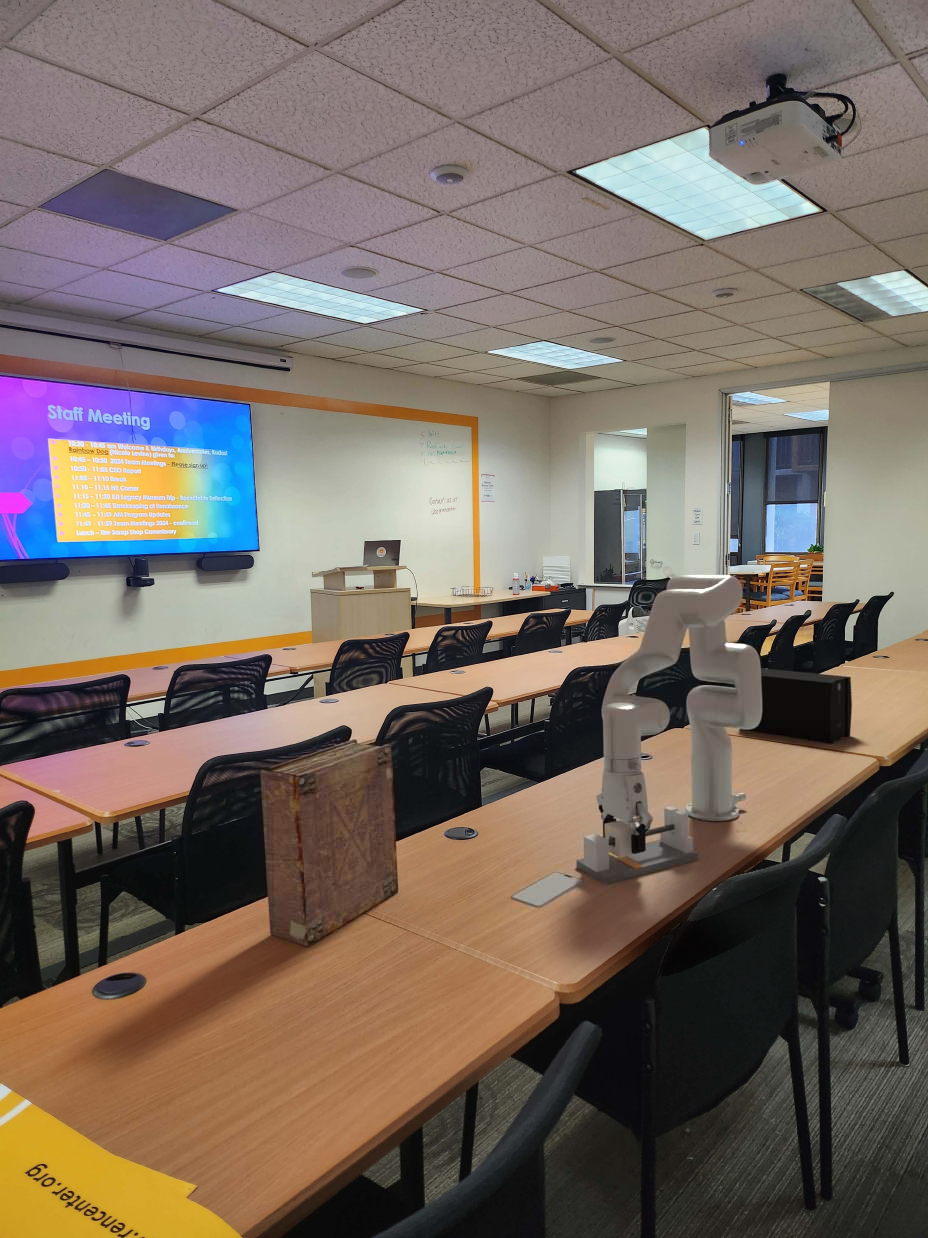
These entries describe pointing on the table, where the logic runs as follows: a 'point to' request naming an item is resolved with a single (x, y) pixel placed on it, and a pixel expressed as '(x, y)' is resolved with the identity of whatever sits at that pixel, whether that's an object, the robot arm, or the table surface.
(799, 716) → the uninterruptible power supply
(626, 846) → the notched cream block
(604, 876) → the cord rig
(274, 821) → the book
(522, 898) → the smartphone
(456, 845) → the table surface
